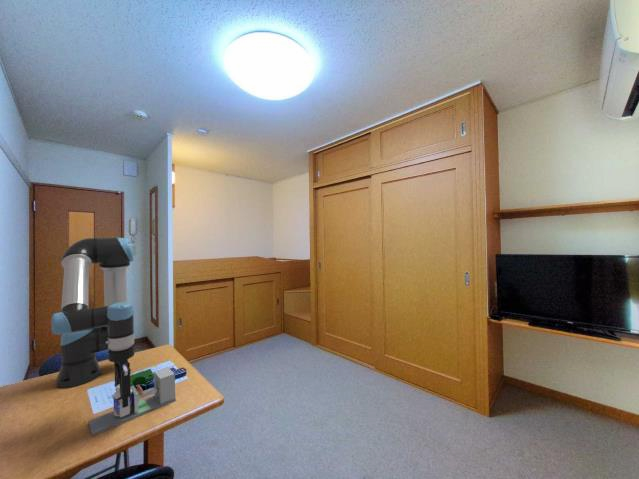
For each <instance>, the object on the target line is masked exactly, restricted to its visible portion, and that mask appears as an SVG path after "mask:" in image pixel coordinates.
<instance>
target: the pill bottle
mask: <svg viewBox="0 0 639 479" xmlns="http://www.w3.org/2000/svg"><path fill="white" fill-rule="evenodd" d="M118 398H120V384H119V385H117V386H116V387H115V392H114V393H113V411H114V415H115V416H120V400H118ZM129 400H130V411H131V410H132V389H131V396H130V397H129Z"/></svg>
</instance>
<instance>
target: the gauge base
mask: <svg viewBox="0 0 639 479" xmlns="http://www.w3.org/2000/svg"><path fill="white" fill-rule="evenodd" d="M153 374H154V379H153V380H154V381H153V382H154V384H153V385H154V387H156V386H159V392H157V393H154V394H153V395H150V396H149V397H148V396H147V397H145V398H144V399H143V398H142V399H139V400H138V403H139V412H137V413H134V411H133V409H132V410H131V411H130V414H128V415H125V416H123V417H120V416H115V415H114V410H113V411H110V412H107V413H104V414H103V415H99V416H97V417H95V418H93V419H89V420H88V425H89V429H90V432H91V436H92V437H94V436H96V435H98V434H101V433H103V432H105V431H108V430H110V429H113V428H115V427H117V426H120V425H122V424H124V423H126V422H129V421H131V420H133V419H136V418H138V417H141V416H143V415H145V414H148V413H150V412H152V411H155V410H157V409H159V408H162V407H164V406H166V405H169V404H171V403H174V402H176V400H177V399H176V377H175V376H176V374H175V372H174V371H172V369H170V368H169V367H168V366H167V367H165V368H162V369H158V370H156V371H153Z"/></svg>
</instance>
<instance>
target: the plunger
mask: <svg viewBox="0 0 639 479" xmlns="http://www.w3.org/2000/svg"><path fill="white" fill-rule="evenodd" d="M131 389H132V409H133V411H134V413H137V412H139V403H138V401H139V400H142V399H143V398H144V399H145V398H147V397H148V396H149V397H150V396H152V395H155V393H157V392H159V386H156V387H151V388H148V389H145V390H143V388H142V386H140V385H137V388H135V387H134V385H133V386H131Z"/></svg>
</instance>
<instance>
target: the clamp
mask: <svg viewBox="0 0 639 479" xmlns="http://www.w3.org/2000/svg"><path fill="white" fill-rule="evenodd" d="M153 380H154V371H153V370H152V369H151V368H149V369H145V370H142V371H140V372H137V373H134V374H133V373H132V374H130V385H131V386H133V385H134V386H136V385H140V384H145V385H147V386H148V384H147V382H148V381H151V382H152V381H153Z"/></svg>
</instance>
